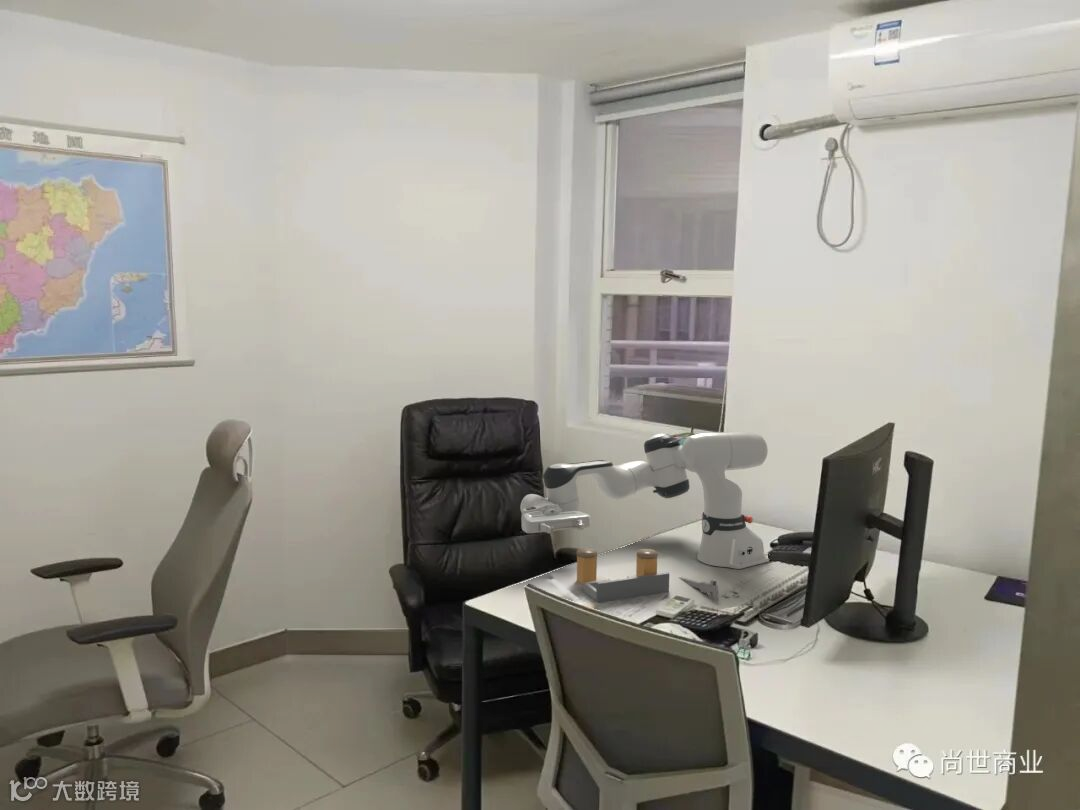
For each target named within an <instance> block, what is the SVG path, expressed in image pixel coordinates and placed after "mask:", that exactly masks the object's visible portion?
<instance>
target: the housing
mask: <svg viewBox="0 0 1080 810" xmlns="http://www.w3.org/2000/svg"><path fill="white" fill-rule="evenodd" d="M581 591H582V592H583V593H584V594H585V595H587V596H588V597H590V598H591V599H592V600H594V601H595V602H597V604H599V603H605V602H611V601H613V602H614V601H617V600H618V601H619V600H626V599H631V598H637V597H639V598H640V597H644V596H652V595H656V594H663V593H669V592H670V573H669V572H667V571H666V572H660V573H659V572H658V573H657V574H652V575H645V576H638V577H636V574H635V575H627V576H626V578H620V579H610V578H606V579H599V580H596V581H592V582H585V583H584V585H583V589H581Z"/></svg>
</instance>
